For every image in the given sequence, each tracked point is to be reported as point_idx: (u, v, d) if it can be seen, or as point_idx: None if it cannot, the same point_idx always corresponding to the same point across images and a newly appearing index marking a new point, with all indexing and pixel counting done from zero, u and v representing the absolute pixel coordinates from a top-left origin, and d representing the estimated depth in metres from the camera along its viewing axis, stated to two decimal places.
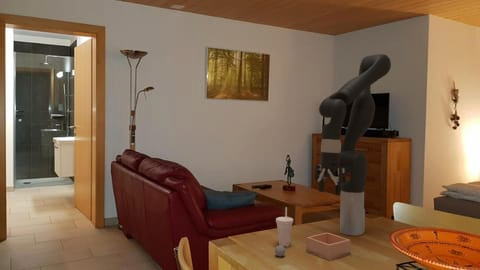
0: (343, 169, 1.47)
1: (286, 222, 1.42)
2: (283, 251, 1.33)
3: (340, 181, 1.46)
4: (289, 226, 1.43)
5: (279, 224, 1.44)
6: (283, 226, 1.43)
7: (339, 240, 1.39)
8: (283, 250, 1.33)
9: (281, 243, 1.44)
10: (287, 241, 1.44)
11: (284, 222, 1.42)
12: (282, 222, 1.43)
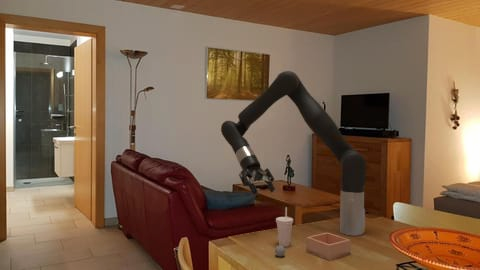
0: (240, 173, 1.55)
1: (286, 222, 1.42)
2: (283, 251, 1.33)
3: None
4: (289, 226, 1.43)
5: (279, 224, 1.44)
6: (283, 226, 1.43)
7: (339, 240, 1.39)
8: (283, 250, 1.33)
9: (281, 243, 1.44)
10: (287, 241, 1.44)
11: (284, 222, 1.42)
12: (282, 222, 1.43)
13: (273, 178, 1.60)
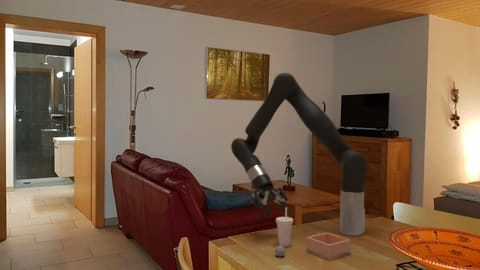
0: (252, 193, 1.50)
1: (286, 222, 1.42)
2: (283, 251, 1.33)
3: None
4: (289, 226, 1.43)
5: (279, 224, 1.44)
6: (283, 226, 1.43)
7: (339, 240, 1.39)
8: (283, 250, 1.33)
9: (281, 243, 1.44)
10: (287, 241, 1.44)
11: (284, 222, 1.42)
12: (282, 222, 1.43)
13: (286, 198, 1.54)
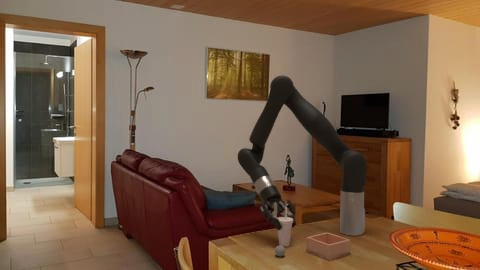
0: (261, 207, 1.46)
1: (286, 222, 1.42)
2: (283, 251, 1.33)
3: None
4: (289, 226, 1.43)
5: None
6: (283, 226, 1.43)
7: (339, 240, 1.39)
8: (283, 250, 1.33)
9: (281, 243, 1.44)
10: (287, 241, 1.44)
11: (284, 222, 1.42)
12: (282, 222, 1.43)
13: (294, 211, 1.49)
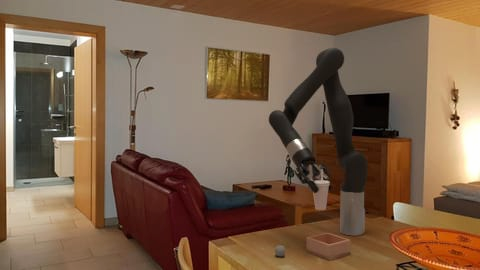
0: (296, 170, 1.38)
1: (323, 184, 1.35)
2: (283, 251, 1.33)
3: None
4: (326, 188, 1.36)
5: None
6: (320, 188, 1.36)
7: (339, 240, 1.39)
8: (283, 250, 1.33)
9: (317, 206, 1.37)
10: (324, 204, 1.37)
11: (321, 184, 1.35)
12: (318, 184, 1.35)
13: (330, 174, 1.42)
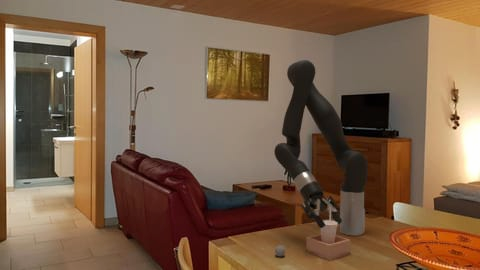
0: (303, 203, 1.38)
1: (331, 226, 1.34)
2: (283, 251, 1.33)
3: None
4: (334, 230, 1.35)
5: (323, 228, 1.36)
6: (328, 230, 1.35)
7: (339, 240, 1.39)
8: (283, 250, 1.33)
9: None
10: None
11: (329, 226, 1.34)
12: (327, 226, 1.35)
13: (338, 207, 1.42)
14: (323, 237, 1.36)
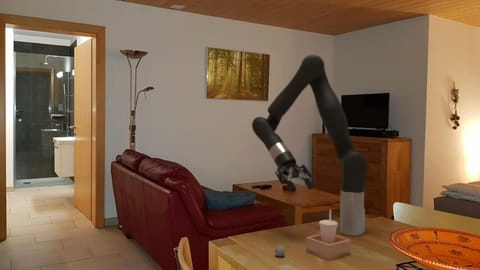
0: (276, 170, 1.49)
1: (331, 226, 1.34)
2: (283, 251, 1.33)
3: None
4: (334, 230, 1.35)
5: (323, 228, 1.36)
6: (328, 230, 1.35)
7: (339, 240, 1.39)
8: (283, 250, 1.33)
9: None
10: None
11: (329, 226, 1.34)
12: (327, 226, 1.35)
13: (310, 174, 1.53)
14: (323, 237, 1.36)
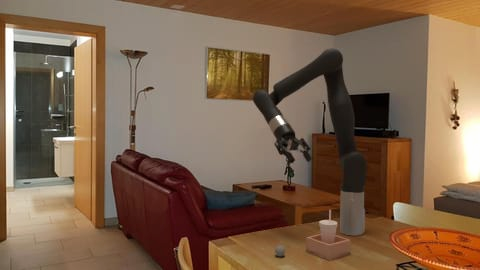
0: (275, 142, 1.49)
1: (331, 226, 1.34)
2: (283, 251, 1.33)
3: None
4: (334, 230, 1.35)
5: (323, 228, 1.36)
6: (327, 230, 1.35)
7: (339, 240, 1.39)
8: (283, 250, 1.33)
9: None
10: None
11: (329, 226, 1.34)
12: (326, 226, 1.35)
13: (309, 147, 1.53)
14: (323, 237, 1.36)
